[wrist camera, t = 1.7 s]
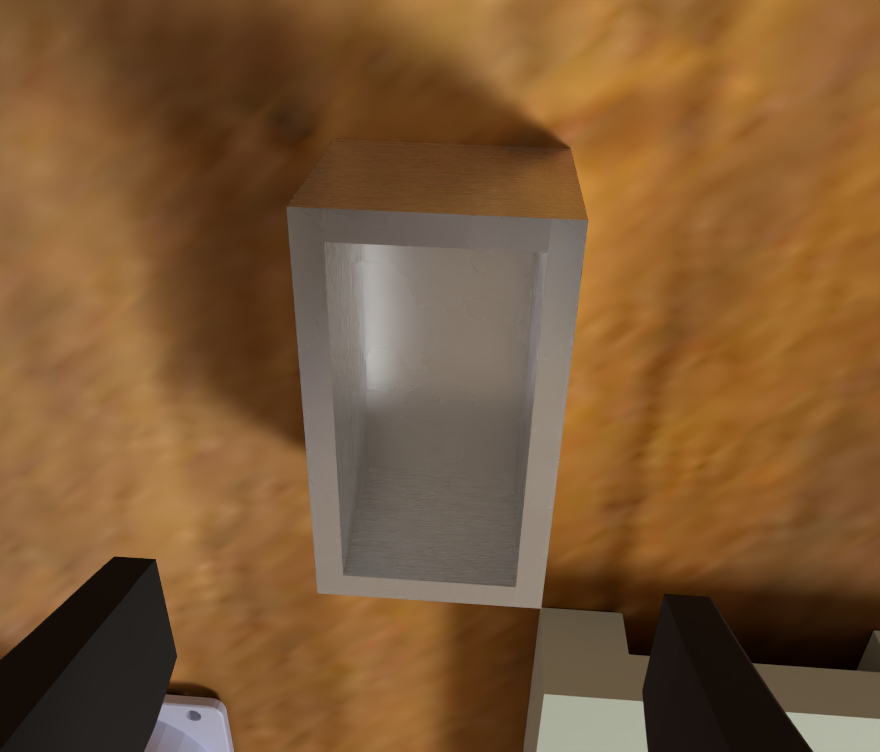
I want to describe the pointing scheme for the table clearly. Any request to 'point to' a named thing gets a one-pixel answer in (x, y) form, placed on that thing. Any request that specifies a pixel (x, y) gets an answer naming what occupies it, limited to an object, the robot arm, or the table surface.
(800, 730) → the stand
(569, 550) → the table surface
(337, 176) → the box
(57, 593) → the table surface
